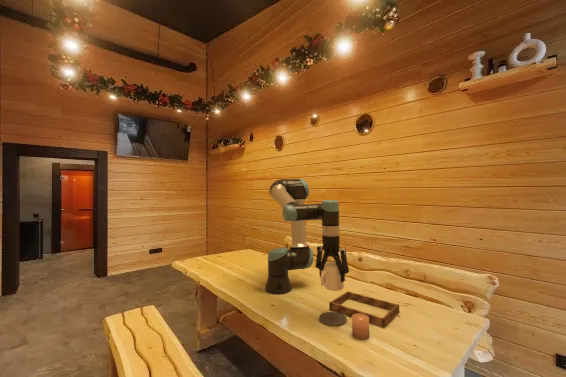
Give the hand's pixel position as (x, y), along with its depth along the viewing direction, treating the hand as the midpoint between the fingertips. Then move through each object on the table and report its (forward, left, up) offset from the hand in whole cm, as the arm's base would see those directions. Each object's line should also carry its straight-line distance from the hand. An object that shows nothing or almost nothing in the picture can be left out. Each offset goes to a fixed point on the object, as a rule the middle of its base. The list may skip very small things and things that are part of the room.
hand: (332, 286), depth 115 cm
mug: (-1, 0, -1) cm, 1 cm away
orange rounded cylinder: (+15, -4, -14) cm, 21 cm away
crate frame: (+7, +16, -14) cm, 23 cm away
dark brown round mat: (0, 0, -14) cm, 14 cm away
